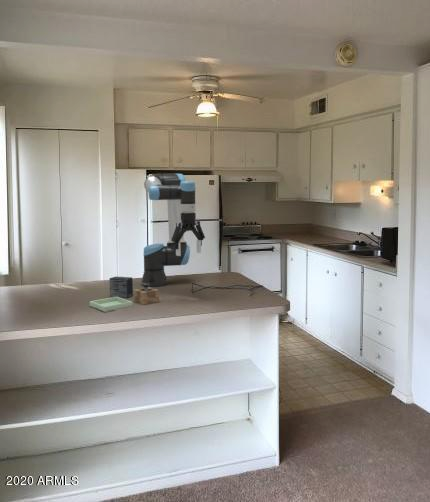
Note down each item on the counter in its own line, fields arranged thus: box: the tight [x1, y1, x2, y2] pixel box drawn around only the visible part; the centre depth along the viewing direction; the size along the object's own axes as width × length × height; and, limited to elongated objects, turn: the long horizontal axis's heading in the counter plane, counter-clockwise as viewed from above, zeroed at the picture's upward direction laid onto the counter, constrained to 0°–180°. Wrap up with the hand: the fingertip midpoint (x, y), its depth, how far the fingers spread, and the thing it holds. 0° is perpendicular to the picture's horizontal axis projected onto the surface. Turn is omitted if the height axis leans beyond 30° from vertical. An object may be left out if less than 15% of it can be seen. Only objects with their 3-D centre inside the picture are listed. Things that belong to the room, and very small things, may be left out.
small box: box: [109, 276, 134, 299], centre depth 268 cm, size 11×6×10 cm, turn 71°
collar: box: [133, 286, 160, 306], centre depth 255 cm, size 9×9×6 cm
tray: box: [89, 297, 134, 313], centre depth 249 cm, size 15×15×2 cm
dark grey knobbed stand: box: [141, 283, 150, 291], centre depth 255 cm, size 8×8×10 cm
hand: (188, 254), depth 261 cm, fingers open, 13 cm apart
